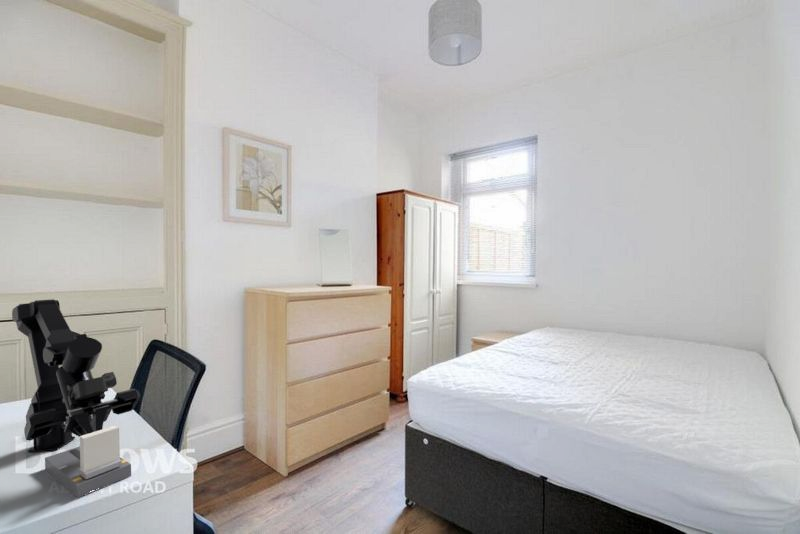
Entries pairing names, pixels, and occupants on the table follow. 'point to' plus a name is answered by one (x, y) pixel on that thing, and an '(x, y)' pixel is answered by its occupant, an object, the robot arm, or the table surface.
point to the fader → (99, 452)
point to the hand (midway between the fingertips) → (97, 446)
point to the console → (68, 475)
